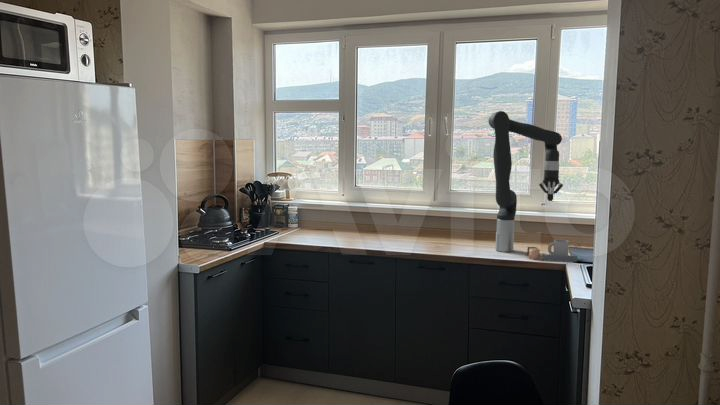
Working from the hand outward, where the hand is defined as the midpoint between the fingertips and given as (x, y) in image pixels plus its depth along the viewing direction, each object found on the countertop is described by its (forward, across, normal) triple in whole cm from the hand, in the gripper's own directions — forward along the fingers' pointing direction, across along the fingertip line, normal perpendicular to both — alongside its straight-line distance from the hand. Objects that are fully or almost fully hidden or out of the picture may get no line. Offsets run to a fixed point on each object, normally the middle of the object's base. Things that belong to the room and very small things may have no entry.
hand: (550, 200), depth 289 cm
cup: (+27, +2, -21) cm, 34 cm away
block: (+27, -10, -17) cm, 34 cm away
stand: (+27, +1, -28) cm, 39 cm away
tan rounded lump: (+27, -11, -26) cm, 39 cm away
